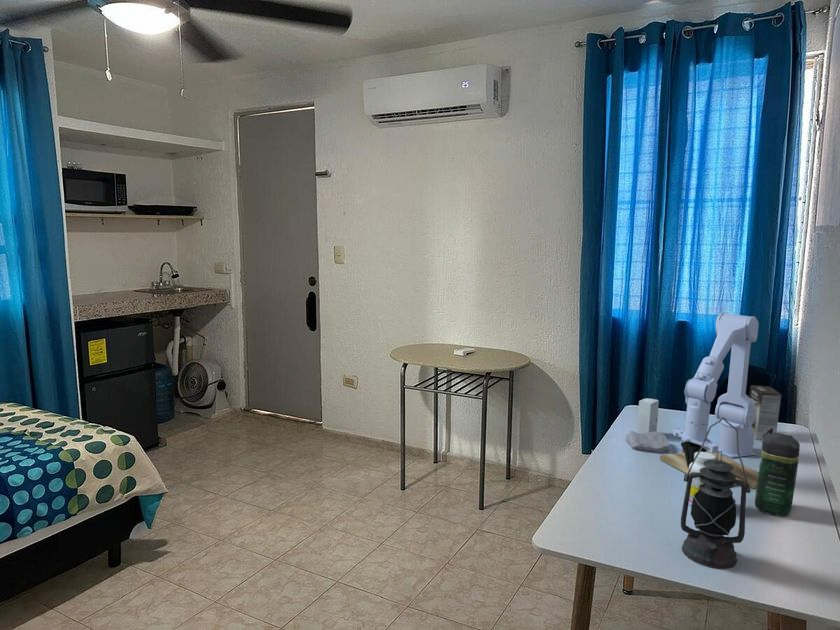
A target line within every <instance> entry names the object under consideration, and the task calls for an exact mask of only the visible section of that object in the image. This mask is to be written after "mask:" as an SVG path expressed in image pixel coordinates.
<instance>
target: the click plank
mask: <svg viewBox="0 0 840 630" xmlns="http://www.w3.org/2000/svg"><path fill="white" fill-rule="evenodd" d="M659 460H661V461H662V462H664V463H666V464H668V465H670V466H672V467H673V468H675V469H677V470H679V471H681V472H683V473H684V474H686V473H688V471H689V468H688V467H687V461H686V456H685V453H682V452H679V453H669V454H660V455H659ZM736 479H737V480H741V479H739V478H737V477H736ZM741 481H742V480H741ZM734 486H739V485H738V484H734Z"/></svg>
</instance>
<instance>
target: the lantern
mask: <svg viewBox="0 0 840 630" xmlns="http://www.w3.org/2000/svg"><path fill="white" fill-rule="evenodd" d="M722 419H724V420H725V422H726V423H728V424H729V425H730V426H731V427H733V428H734V429H735V430H736V436H737V453H738V456H739V457H738V459H739V461H740V464H742V468H743V473H744V477H745V481H746V484H745V483H744V482H743V481H741V480H737V479H736V476H735V474H734V473H732V472H730V471H733V469H734V468H733V466H732V465H730V464H728V463H726V462H724V461H721V460H722V455H723V454H722V451H718V452H717V460H707V461H704V463H703V464H704V466H706V467H703V468H701V469H700V470H699V471H700V473H697V472H692V473H690V474H689V472H690V470H691V468H692V466H693V464H694V462H695V460H696V458H697V456H698V455H699V453H700V452H701V450H702V448H703V446H704V443H705V441H706V438H708V435H709V434H710V431H711V429H712V427H714V426H716V425H717V424H719V422H721V420H722ZM720 452H721V453H720ZM718 453H720V454H721V460H720V461H719V460H718ZM743 465H744V463H743V461H742V456H741V457H740V454H739V447H738V430H737V429H736V428H735V427H734V426H732V425H731V424H730V423H729V422H727V420H726V419H725V418H721V419H720V421H719V420H718V421H716V422H714V423H713V424H711V425H710V426H708V431H707V434H706V437H705V439H704V442H703V444H702V447H701V449H700V450H699V452H698V453H697V455H696V456H695V458H694V461H693V463H692V465H691V467H690V469H689V471H688V473H684V476H683V481H684V482H686V485H685V491H684V497H683V498H684V499H683V504H682V509H681V515H680V516H681V517H680V528H681V531H683V532H685V533H687V537H686V538H685V539H684V540H683V542H682V543H683V544H682V546H681V552H682V553H683V555H684V556H685V557H687V559H689V560H690V561H693V562H694V563H696V564H699V565H701V566H704V567H708V568H710V569H711V568H712V569H719V570H726V569H731V568H734V567H735V566H736V565H738V558H737V556H738V555H737V551H735V545H734V544H739V543H740V544H741V543H742V542H743V541H744V539H745V538H744V537H745V534H746V532H745V529H746V512H747V511H746V510H747V509H746V507H747V493H748V494H751V488H752V487H750V485H749V484H748V483H747V478H746V474H745V470H744V466H745V465H744V466H743ZM696 477H700V481H701V482H702V483H703V484H701V485H700V486H699V488H700V489H699V490H698V492H697V493H694V498H693V502H692V506H691V505H690V504H689V497H690V490H691V484H692V479H693V478H696ZM734 484H738V485H737V486H739V487H740V492H741V493H740V507H739V508H740V509H739V525H738V534H737V536H729V535H730V533H731V530H733V528H734V527H735V526H736V522H737V504H736V499H735V498H733V494H734V493H733V490H732V489H733V488H734V486H735V485H734ZM695 494H696V495H695ZM689 505H690V506H691V509H690V516H691V518H692V520H693V525H694V527H695V529H696V530H695V529H693V528H691V527H689V526H687V524H686V523H687V516H688V509H689Z"/></svg>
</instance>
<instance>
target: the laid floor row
mask: <svg viewBox="0 0 840 630" xmlns="http://www.w3.org/2000/svg"><path fill="white" fill-rule="evenodd" d="M706 452H707V453H710V451H709V450H707V451H706ZM681 453H684V450H683V448H682V451H681ZM710 454H713V455H714V456H715V460H717V453H710ZM718 460H719V461H720V460H721V453H720V452H718ZM721 461H724V462H726V463H728V464H730V465H732V466H733V468H734V469H733V471H730V472H732V473H734V474H735V476H736V477H737V478H739V479H741V480H742V481H743V482H744V483H745V484H746V481H745V477H744V473H743V468H742V464H741V462H738V461H736V460H735V459H733V458H731V457H728V456H726V455H724V454H722V460H721ZM743 466H744V470H745V474H746V478H747V483H748V484H749V485H750V487H751V488H752V489H754V488H755V489H757V482H758V474H759V471H757V470H755V469H752V468H751V467H749V466H746V465H744V464H743Z"/></svg>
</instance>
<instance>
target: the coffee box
mask: <svg viewBox="0 0 840 630" xmlns="http://www.w3.org/2000/svg"><path fill="white" fill-rule="evenodd" d="M748 397H749V398H750V399H752V400H753V401H754V402H755V413H756V415H755V420H754V423H753V424H752V425H751V427H752V428H753V430H754V440H756V441H757V440H758V441H760V440H761V441H763V439H764V438H765V437H766V436H767V435H769V434H773V433H777V429H778V425H779V424H778V422H779V417H780V416H779V415H780V407H781V399H782V394H781V393H780V392H778V391H777V390H776V389H774V388H773V387H771V386H763V385H757V384H756V385H755V384H754V385H753V384H751V385H749V394H748Z"/></svg>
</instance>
